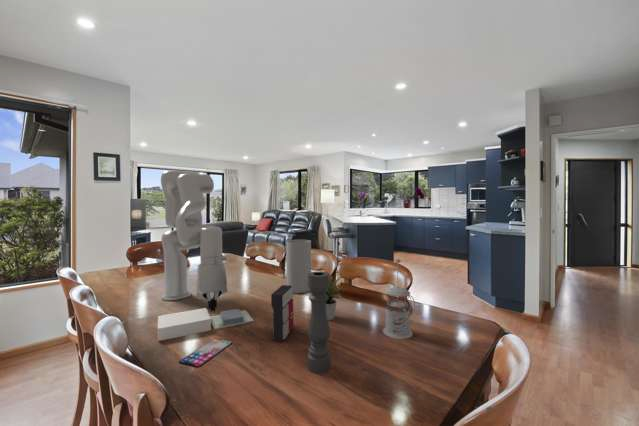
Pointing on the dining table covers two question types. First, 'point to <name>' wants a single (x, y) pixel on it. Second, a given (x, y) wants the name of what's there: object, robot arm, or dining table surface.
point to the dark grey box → (282, 312)
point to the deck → (183, 323)
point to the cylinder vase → (298, 264)
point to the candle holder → (318, 324)
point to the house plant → (331, 302)
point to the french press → (393, 326)
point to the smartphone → (205, 353)
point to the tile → (231, 317)
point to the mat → (218, 324)
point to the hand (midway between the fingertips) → (212, 310)
